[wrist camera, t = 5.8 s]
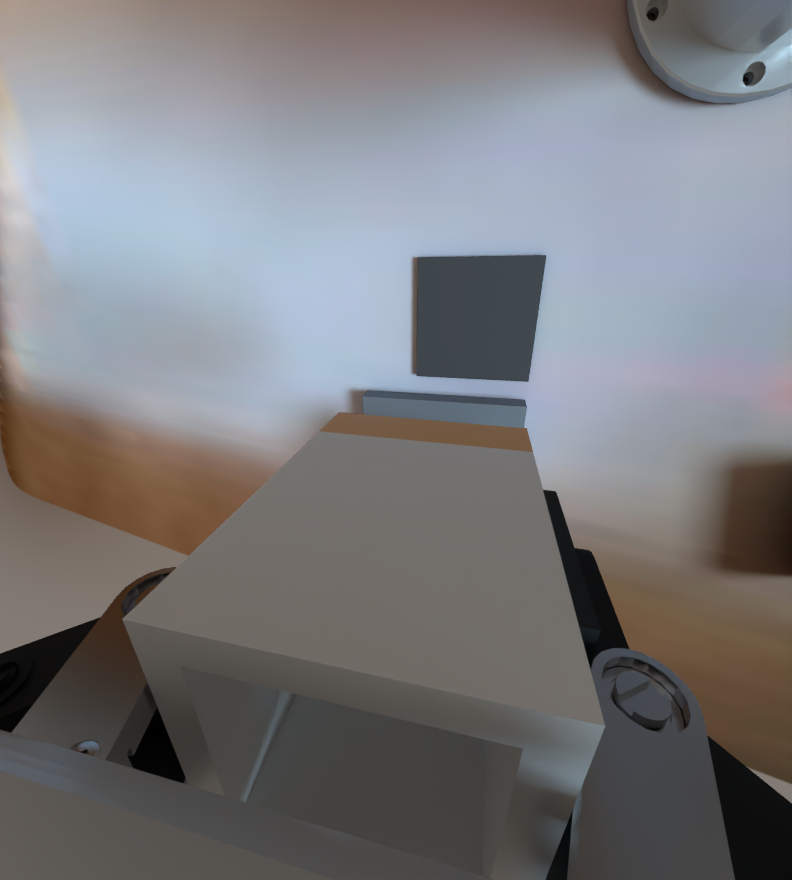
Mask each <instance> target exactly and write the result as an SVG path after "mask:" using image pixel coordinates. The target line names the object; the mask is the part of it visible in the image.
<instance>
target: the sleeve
mask: <svg viewBox="0 0 792 880" xmlns="http://www.w3.org/2000/svg"><path fill="white" fill-rule="evenodd" d="M122 620H123V622H124V625H125V627H126V630H127V632H128V635H129V637H130V640H131V642H132V645H133V647H134V650H135V652H136V655H137V657H138V660H139V662H140V665H141V667H142V670H143V672H144V675H145V677H146V680H147V682H148V685H149V687H150V690H151V692H152V695H153V697H154V700H155V702H156V705H157V707H158V710H159V712H160V715H161V717H162V720H163V722H164V725H165V727H166V730H167V732H168V735H169V737H170V740H171V742H172V745H173V747H174V750H175V752H176V755H177V757H178V760H179V762H180V765H181V767H182V770H183V772H184V775H185V777H186V780H187V782H188V785H190V786H193V787H196V788H200V789H203V790H206V791H209V792H213V793H216V794H219V795H222V796H226V797H229V798H232V799H235V800H239V801H242V802H245V803H248V804H252V805H255V806H258V807H262V808H265V809H268V810H271V811H275V812H278V813H281V814H284V815H288V816H291V817H294V818H297V819H301V820H304V821H307V822H310V823H314V824H317V825H320V826H323V827H327V828H330V829H333V830H336V831H340V832H343V833H346V834H349V835H352V836H356V837H359V838H362V839H365V840H369V841H372V842H375V843H378V844H382V845H385V846H388V847H391V848H394V849H398V850H401V851H404V852H407V853H410V854H414V855H417V856H420V857H423V858H426V859H430V860H433V861H436V862H439V863H442V864H446V865H449V866H452V867H455V868H458V869H461V870H465V871H468V872H471V873H474V874H477V875H481V876H484V877H487V878H490V879H493V880H545V879H546V876H547V874H548V871H549V869H550V866H551V864H552V861H553V859H554V856H555V853H556V851H557V848H558V846H559V843H560V841H561V838H562V836H563V833H564V830H565V828H566V825H567V823H568V820H569V818H570V815H571V813H572V810H573V808H574V805H575V802H576V800H577V797H578V795H579V792H580V790H581V787H582V785H583V782H584V779H585V777H586V774H587V772H588V769H589V767H590V764H591V762H592V759H593V757H594V754H595V751H596V749H597V746H598V744H599V741H600V739H601V736H602V734H603V731H604V728H605V723H604V719H603V715H602V712H601V708H600V704H599V700H598V696H597V693H596V689H595V685H594V681H593V678H592V674H591V670H590V666H589V662H588V659H587V655H586V651H585V647H584V643H583V640H582V636H581V632H580V628H579V625H578V621H577V617H576V613H575V609H574V606H573V602H572V598H571V594H570V590H569V587H568V583H567V579H566V575H565V572H564V568H563V564H562V560H561V556H560V553H559V549H558V545H557V541H556V538H555V534H554V530H553V526H552V522H551V519H550V515H549V511H548V507H547V503H546V500H545V496H544V492H543V488H542V485H541V481H540V477H539V473H538V469H537V466H536V462H535V458H534V454H533V450H532V447H531V443H530V439H529V435H528V432H527V428H516V427H504V426H493V425H481V424H469V423H458V422H446V421H434V420H422V419H411V418H399V417H387V416H376V415H364V414H352V413H341V412H339V413H338V414H337V415H336V416H335V417H334V418H333V419H332V420H331V421H330V422H329V423H328V424H326V425H325V426H324V427H323V428H322V429H321V430H320V431H319V432H318V433H317V434H316V435H315V436H314V437H313V438H312V439H311V440H310V441H309V442H308V443H307V444H306V445H304V446H303V447H302V448H301V449H300V450H299V451H298V452H297V453H296V454H295V455H294V456H293V457H292V458H291V459H290V460H289V461H288V462H287V463H286V464H285V465H284V466H282V467H281V468H280V469H279V470H278V471H277V472H276V473H275V474H274V475H273V476H272V477H271V478H270V479H269V480H268V481H267V482H266V483H265V484H264V485H263V486H261V487H260V488H259V489H258V490H257V491H256V492H255V493H254V494H253V495H252V496H251V497H250V498H249V499H248V500H247V501H246V502H245V503H244V504H243V505H242V506H241V507H239V508H238V509H237V510H236V511H235V512H234V513H233V514H232V515H231V516H230V517H229V518H228V519H227V520H226V521H225V522H224V523H223V524H222V525H221V526H220V527H219V528H217V529H216V530H215V531H214V532H213V533H212V534H211V535H210V536H209V537H208V538H207V539H206V540H205V541H204V542H203V543H202V544H201V545H200V546H199V547H198V548H197V549H195V550H194V551H193V552H192V553H191V554H190V555H189V556H188V557H187V558H186V559H185V560H184V561H183V562H182V563H181V564H180V565H179V566H178V567H177V568H176V569H174V570H173V571H172V572H171V573H170V574H169V575H168V576H167V577H166V578H165V579H164V580H163V581H162V582H161V583H160V584H159V585H158V586H157V587H156V588H155V589H154V590H152V591H151V592H150V593H149V594H148V595H147V596H146V597H145V598H144V599H143V600H142V601H141V602H140V603H139V604H138V605H137V606H136V607H135V608H134V609H133V610H132V611H130V612H129V613H128V614H127V615H126V616H125V617H124V618H123V619H122Z"/></svg>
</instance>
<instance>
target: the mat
mask: <svg viewBox="0 0 792 880" xmlns="http://www.w3.org/2000/svg"><path fill="white" fill-rule="evenodd" d="M545 260H546V255H540V256H478V257H418V303H417V376H427V377H447V378H467V379H487V380H506V381H526V382H528V380H529V373H530V366H531V359H532V352H533V345H534V338H535V331H536V324H537V317H538V310H539V303H540V296H541V289H542V281H543V274H544V267H545Z"/></svg>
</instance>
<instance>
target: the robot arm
mask: <svg viewBox="0 0 792 880" xmlns="http://www.w3.org/2000/svg"><path fill="white" fill-rule="evenodd" d="M626 1H627V8H628V15H629V22H630V27H631V30H632V32H633V35H634V38H635V41H636V44H637V46H638V49H639V52H640V53H641V55H642V56H643V58H644V59H645V61H646V62H647V64H648V65H649V67H650V69H651V70H652V72H653V73H654V74H655V75H657V76H658V77H659V78H660V79H661V80H662V81H663V82H664V83H666V84H667V85H668V86H669V87H670V88H672V89H674V90H676V91H678V92H680V93H682V94H684V95H686V96H688V97H690V98H692V99H697V100H702V101H707V102H712V103H739V102H747V101H752V100H756V99H760V98H764V97H769V96H773V95H775V94H778V93H780V92H783V91H785V90H787V89H790V88H792V0H626ZM650 12H651V13H654V15H655V21H650V20H649V19H648V18H647V16H646V15H647V14H648V13H650ZM743 76H747V78H748V84H747V85H745V84H744V83H743ZM543 492H544V496H545V500H546V503H547V507H548V511H549V515H550V519H551V522H552V526H553V530H554V534H555V538H556V541H557V545H558V549H559V553H560V556H561V560H562V564H563V568H564V572H565V575H566V579H567V583H568V587H569V590H570V594H571V598H572V602H573V606H574V609H575V613H576V617H577V621H578V625H579V628H580V632H581V636H582V640H583V643H584V647H585V651H586V655H587V659H588V662H589V666H590V670H591V674H592V678H593V681H594V685H595V689H596V693H597V696H598V700H599V704H600V708H601V712H602V715H603V719H604V723H605V728H604V731H603V734H602V736H601V739H600V741H599V744H598V746H597V749H596V751H595V754H594V757H593V759H592V762H591V764H590V767H589V769H588V772H587V774H586V777H585V779H584V782H583V785H582V787H581V790H580V792H579V795H578V797H577V800H576V802H575V805H574V808H573V810H572V813H571V815H570V818H569V820H568V823H567V825H566V828H565V830H564V833H563V836H562V838H561V841H560V843H559V846H558V848H557V851H556V853H555V856H554V859H553V861H552V864H551V866H550V869H549V871H548V874H547V876H546V879H545V880H792V803H790V802H789V801H788V800H787V799H785V798H784V797H783V796H781V795H780V794H779V793H778V792H777V791H775V790H774V789H773V788H772V787H771V786H769V785H768V784H767V783H765V782H764V781H763V780H762V779H760V778H759V777H758V776H757V775H756V774H754V773H753V772H752V771H751V770H749V769H748V768H747V767H746V766H745V765H743V764H742V763H741V762H740V761H738V760H737V759H736V758H735V757H733V756H732V755H731V754H730V753H728V752H727V751H726V750H725V749H723V748H722V747H721V746H720V745H719V744H717V743H716V742H715V741H714V740H712V739H711V738H710V737H709V736H707V732H706V727H705V722H704V717H703V714H702V711H701V709H700V706H699V703H698V701H697V699H696V698H695V696H694V695H693V693H692V692H691V691H690V689H689V688H688V686H687V685H686V684H685V683H684V682H683V681H682V680H681V679H680V678H679V677H678V676H677V675H676V674H675V673H674V672H673V671H671V670H670V669H669V668H667V667H666V666H664V665H663V664H662V663H660V662H659V661H657V660H655V659H653V658H651V657H649V656H647V655H645V654H643V653H641V652H637V651H633V650H630V649H629V647H628V644H627V642H626V639H625V636H624V634H623V631H622V629H621V626H620V623H619V621H618V618H617V616H616V613H615V610H614V608H613V605H612V603H611V600H610V597H609V595H608V592H607V589H606V587H605V584H604V582H603V579H602V576H601V574H600V571H599V569H598V566H597V563H596V561H595V558H594V556H593V554H592V552H591V551H589V550H584V549H577V548H574V546H573V542H572V539H571V536H570V533H569V530H568V527H567V524H566V521H565V518H564V515H563V512H562V508H561V505H560V502H559V499H558V496H557V493H556V492H555V491H548V490H543ZM176 568H177V567H172V568H165V569H160V570H157V571H154V572H151V573H148V574H146V575H144V576H142V577H140V578H138V579H136V580H135V581H134V582H132V583H131V584H129V585H128V586H126V587H125V588H124V590H122V591H121V593H120V594H119V595H118V596H117V597H116V598H115V599H114V601H113V602H112V603H111V605H110V606H109V607H108V608H107V610H106V611H105V613H104V614H103V615H102V616H101V617H100V618H98V619H95V620H92V621H89V622H86V623H84V624H81V625H78V626H75V627H73V628H70V629H67V630H64V631H61V632H59V633H56V634H53V635H50V636H48V637H45V638H42V639H39V640H37V641H34V642H32V643H29V644H26V645H23V646H20V647H18V648H15V649H12V650H9V651H6V652H4V653H1V654H0V880H493V879H490V878H487V877H484V876H481V875H477V874H474V873H471V872H468V871H465V870H461V869H458V868H455V867H452V866H449V865H446V864H442V863H439V862H436V861H433V860H430V859H426V858H423V857H420V856H417V855H414V854H410V853H407V852H404V851H401V850H398V849H394V848H391V847H388V846H385V845H382V844H378V843H375V842H372V841H369V840H365V839H362V838H359V837H356V836H352V835H349V834H346V833H343V832H340V831H336V830H333V829H330V828H327V827H323V826H320V825H317V824H314V823H310V822H307V821H304V820H301V819H297V818H294V817H291V816H288V815H284V814H281V813H278V812H275V811H271V810H268V809H265V808H262V807H258V806H255V805H252V804H248V803H245V802H242V801H239V800H235V799H232V798H229V797H226V796H222V795H219V794H216V793H213V792H209V791H206V790H203V789H200V788H196V787H193V786H190V785H188V782H187V780H186V777H185V775H184V772H183V770H182V767H181V765H180V762H179V760H178V757H177V755H176V752H175V750H174V747H173V745H172V742H171V740H170V737H169V735H168V732H167V730H166V727H165V725H164V722H163V720H162V717H161V715H160V712H159V710H158V707H157V705H156V702H155V700H154V697H153V695H152V692H151V690H150V687H149V685H148V682H147V680H146V677H145V675H144V672H143V670H142V667H141V665H140V662H139V660H138V657H137V655H136V652H135V650H134V647H133V645H132V642H131V640H130V637H129V635H128V632H127V630H126V627H125V625H124V622H123V620H122V619H123V618H124V617H125V616H126V615H127V614H128V613H129V612H130V611H132V610H133V609H134V608H135V607H136V606H137V605H138V604H139V603H140V602H141V601H142V600H143V599H144V598H145V597H146V596H147V595H148V594H149V593H150V592H151V591H152V590H154V589H155V588H156V587H157V586H158V585H159V584H160V583H161V582H162V581H163V580H164V579H165V578H166V577H167V576H168V575H169V574H170V573H171V572H172V571H173V570H174V569H176Z"/></svg>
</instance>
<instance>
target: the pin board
mask: <svg viewBox="0 0 792 880" xmlns="http://www.w3.org/2000/svg"><path fill="white" fill-rule="evenodd" d="M362 403H363V414H364V415H376V416H387V417H399V418H411V419H422V420H434V421H446V422H458V423H469V424H481V425H493V426H504V427H516V428H524V422H525V415H526V408H527V406H526V402H525V400H517V399H500V398H483V397H467V396H450V395H434V394H417V393H400V392H384V391H367V392H366V393H365V394H364V395H363V396H362Z"/></svg>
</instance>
